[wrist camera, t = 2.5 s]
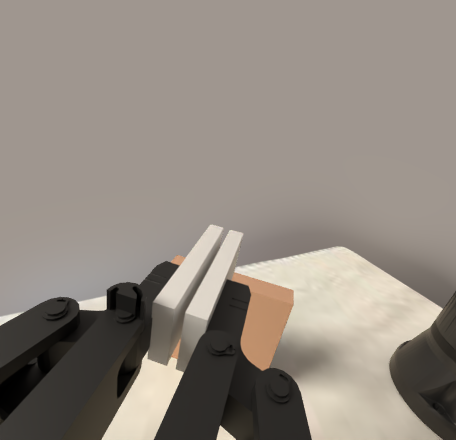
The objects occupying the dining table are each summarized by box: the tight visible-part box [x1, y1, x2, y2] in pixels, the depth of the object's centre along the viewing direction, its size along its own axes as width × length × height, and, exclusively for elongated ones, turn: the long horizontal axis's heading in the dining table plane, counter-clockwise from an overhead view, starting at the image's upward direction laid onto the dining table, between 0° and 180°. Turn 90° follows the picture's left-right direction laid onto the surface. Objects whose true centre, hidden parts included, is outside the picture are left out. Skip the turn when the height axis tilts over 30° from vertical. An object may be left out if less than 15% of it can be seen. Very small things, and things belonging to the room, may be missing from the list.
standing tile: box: [171, 255, 293, 371], centre depth 32 cm, size 14×3×14 cm, turn 77°
